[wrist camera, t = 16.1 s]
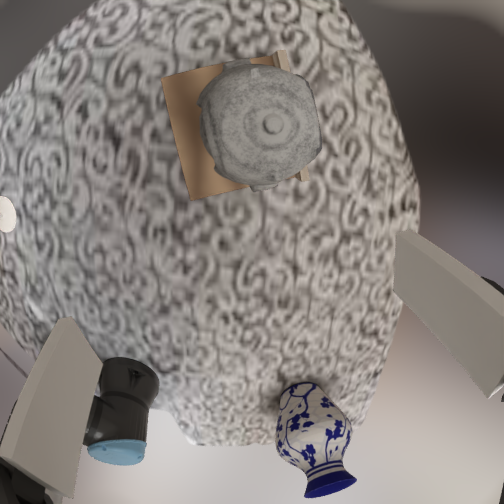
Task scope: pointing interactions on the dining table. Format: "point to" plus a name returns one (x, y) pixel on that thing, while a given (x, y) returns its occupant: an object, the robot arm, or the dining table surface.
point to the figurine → (259, 123)
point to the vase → (314, 438)
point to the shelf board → (188, 127)
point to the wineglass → (7, 215)
